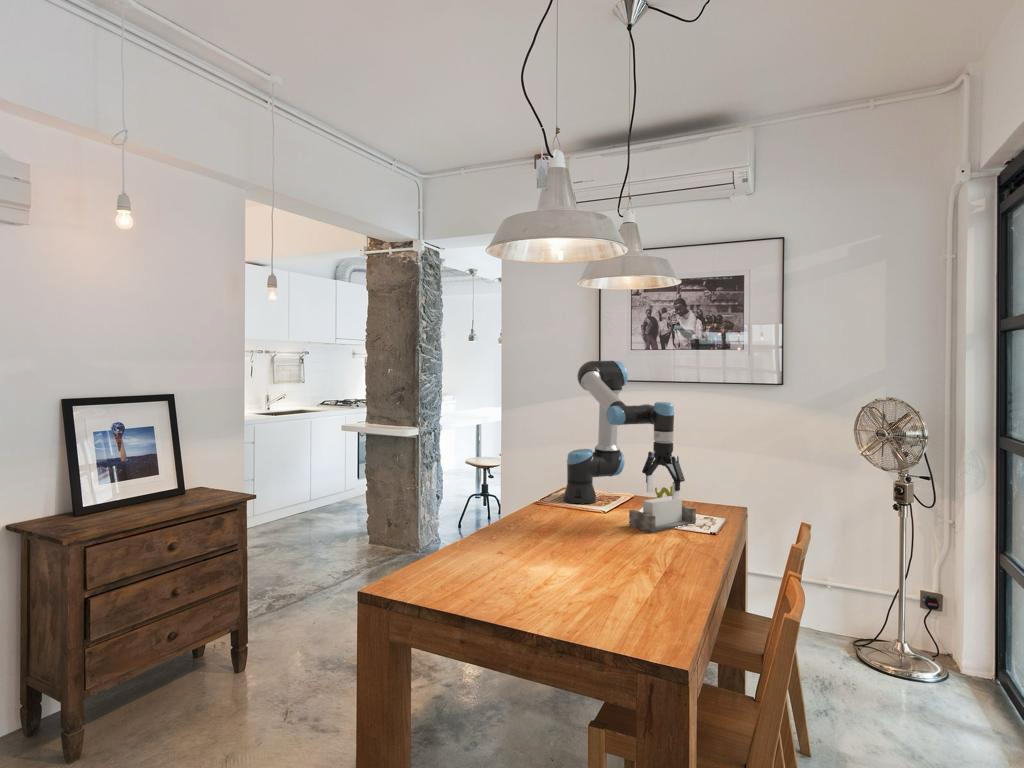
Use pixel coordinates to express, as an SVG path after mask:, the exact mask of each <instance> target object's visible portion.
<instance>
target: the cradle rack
mask: <svg viewBox="0 0 1024 768" xmlns="http://www.w3.org/2000/svg"><path fill="white" fill-rule="evenodd" d="M628 514H629V515H628V516H629V517H628V519H629V521H628V526H629V527H631V528H634V529H637V530H640V531H643V532H645V533H648V534H649V533H650V534H655V533H660V532H664V531H670V530H674V529H673V528H675V527H678V526H683V525H688V524H695V523H697V517H696V516H697V508H694V507H690V506H687V505H683V504H682V521H678V522H673V523H668V524H663V525H658V526H655V516H653V515H649V514H646V513H643V511H639V510H636V509H630V510H629V512H628ZM695 525H696V524H695ZM675 529H676V528H675Z"/></svg>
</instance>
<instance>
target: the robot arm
mask: <svg viewBox="0 0 1024 768" xmlns="http://www.w3.org/2000/svg"><path fill="white" fill-rule="evenodd" d="M576 377H577V381H578V384H579V385H580V387H581V388H582V389H583V390H585V391H587V392H589V394H590V395H591V396H592V397H593V398H594V399H595V400H596V401H597V402H598V403H599V405H598V406H599V409H598V436H597V437H598V441H597V444H596V445H595V446H594V451H593V449H589V448H584V449H583V448H579V449H575V450H571V451H569V453H568V454H567V458H566V459H567V460H566V463H567V464H566V466H567V468H566V474H567V480H566V481H567V482H566V487H565V491H564V493H563V499H562V500H563V501H564V502H565V503H568V502H570V503H569V504H573V503H581V504H580V505H583V504H582V503H590V504H593V503H592V502H594V503H596V502H597V495H596V490H595V488H594V485H593V478H599V477H601V478H602V477H603V478H604V477H615V476H618V475H620V474H621V473H622V472H623V470H624V467H625V461H626V460H625V457H624V456H625V455H624V453H623V452H622V451H621V448H620V447H619V446H618V426H625V425H626V426H627V425H647V424H648V425H653V447H652V448H653V451H652V450H651V451H648V455H647V458H646V461H645V464H644V466H643V469H642V471H641V472H642V474H644V475H645V483H646V493H653V492H654V475H653V473H654V472H655V471H656V469H657V468H658V466H662V467H665V469H667V470H668V472H669V475H670V476H671V478H672V480H673V482H672V484H671V486H672V499H673V500H674V499H679V498H680V495H679V493H680V491H681V483H683V482H685V481H686V479H685V477H684V473H683V470H682V467H681V464H680V460H679V459H680V458H679V455H675V456H673V454H672V453H673V452H674V443H673V442H674V427H675V426H674V422H675V408H674V404H673V402H671V401H670V402H669V401H668V402H667V401H656V402H655V403H654V404H653V405H652V404H645V403H643V404H641V405H626V404H625V403H624V402H623V400H621V398H619V397H620V395H619V394H620V393H622V391H623V387H624V386H626V384H627V383H628V379H629V377H628V371H627V367H626V366H625V364H624V363H623V362H621V361H619V360H590V361H587V362H585V363H584V364H582V365H581V367H579V369H578V371H577V376H576ZM595 501H596V502H595Z"/></svg>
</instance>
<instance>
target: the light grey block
mask: <svg viewBox="0 0 1024 768" xmlns="http://www.w3.org/2000/svg"><path fill="white" fill-rule="evenodd" d="M642 502H643V503H642V512H643V513H646V514H649V515H653V516H655V526H658V525H663V524H668V523H673V522H678V521H682V505H683V498H682V497H679V499H674V500H673V499H672V496H668V497H667V496H663V497H662V498H657V497H656V498H650V499H646V500H642Z"/></svg>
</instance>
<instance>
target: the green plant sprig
mask: <svg viewBox="0 0 1024 768" xmlns="http://www.w3.org/2000/svg"><path fill="white" fill-rule="evenodd" d="M669 489H670V491H669ZM669 489H668V488H667V487H665V486H663V487H662V488H661V489H660V491H659V492H658V488H657V487H655V488H654V492H655V494H656V498H662V497H664V494H665V495H666V497H668V496H672V485H670V486H669Z"/></svg>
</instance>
